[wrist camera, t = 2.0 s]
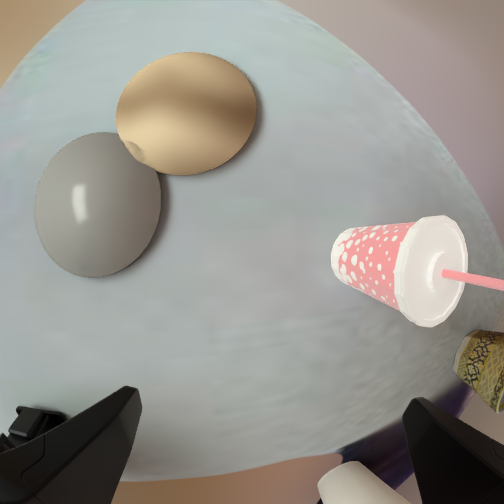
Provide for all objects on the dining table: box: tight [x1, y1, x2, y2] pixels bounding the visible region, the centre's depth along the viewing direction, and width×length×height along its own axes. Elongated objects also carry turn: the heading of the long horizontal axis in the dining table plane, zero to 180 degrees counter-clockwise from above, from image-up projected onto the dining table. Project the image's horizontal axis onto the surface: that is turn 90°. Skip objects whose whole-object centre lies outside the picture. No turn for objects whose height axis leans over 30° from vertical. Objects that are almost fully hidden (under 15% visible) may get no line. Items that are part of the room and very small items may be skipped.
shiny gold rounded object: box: [116, 52, 257, 176], centre depth 17 cm, size 10×10×1 cm
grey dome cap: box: [34, 132, 161, 278], centre depth 16 cm, size 10×10×1 cm
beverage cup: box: [331, 215, 504, 327], centre depth 14 cm, size 6×6×14 cm
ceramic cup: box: [453, 330, 504, 413], centre depth 22 cm, size 13×10×10 cm
